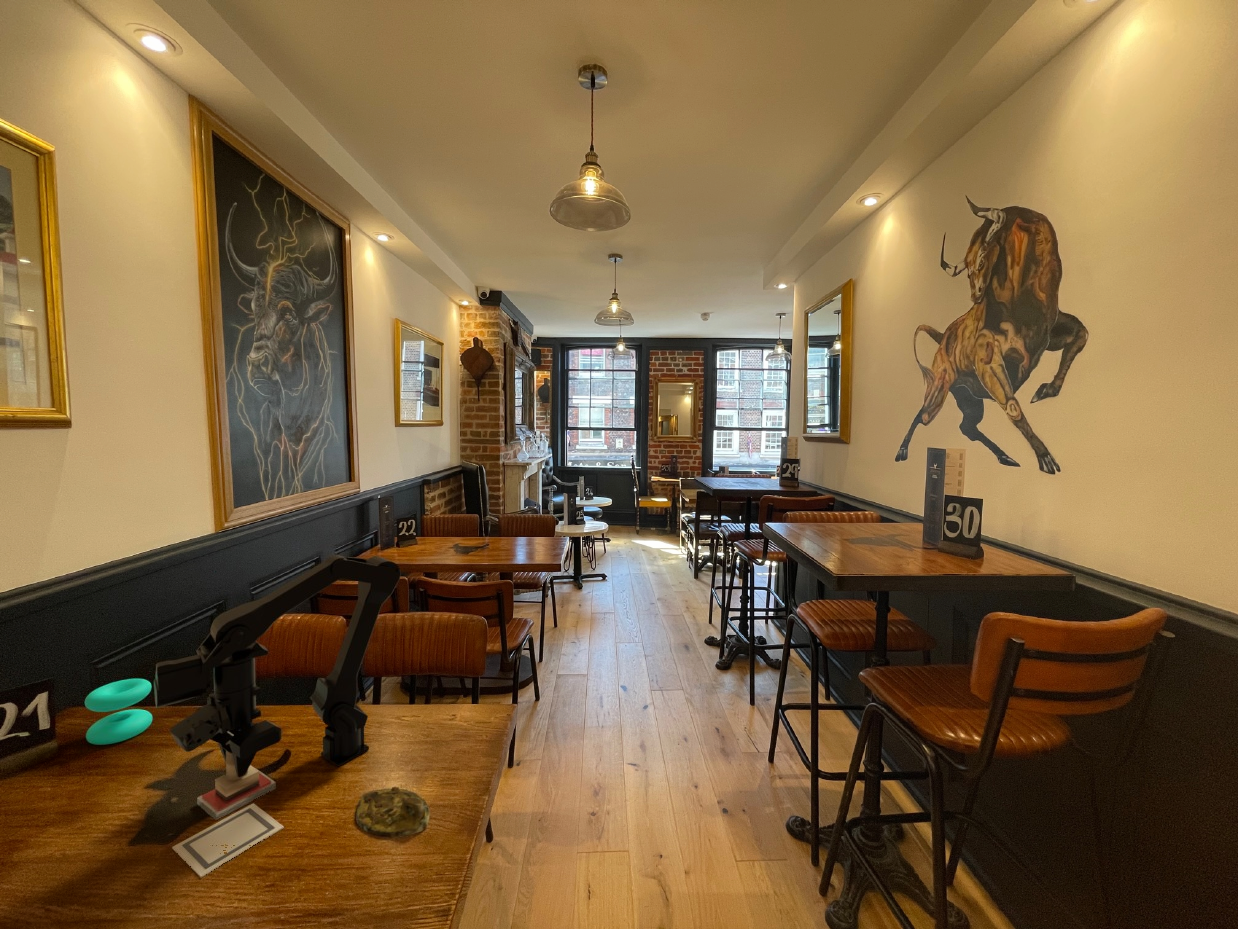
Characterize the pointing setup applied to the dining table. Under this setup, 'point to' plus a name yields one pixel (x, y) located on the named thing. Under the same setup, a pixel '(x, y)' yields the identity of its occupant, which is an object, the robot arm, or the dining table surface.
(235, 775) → the stamp
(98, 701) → the donuts
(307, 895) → the dining table surface
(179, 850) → the card
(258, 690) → the robot arm
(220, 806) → the ink pad
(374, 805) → the olive brown oval relief
